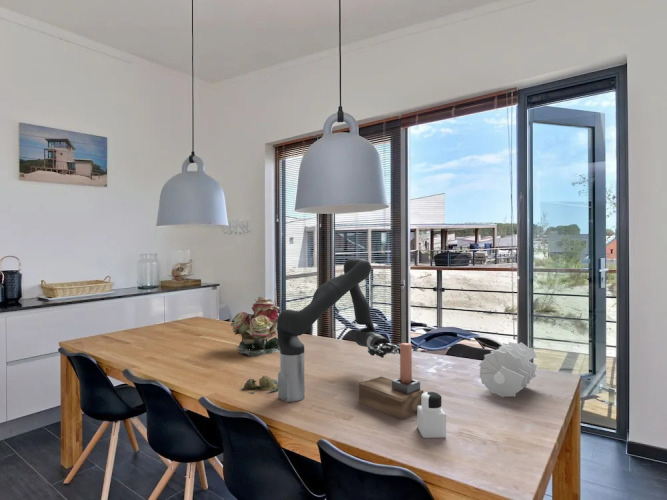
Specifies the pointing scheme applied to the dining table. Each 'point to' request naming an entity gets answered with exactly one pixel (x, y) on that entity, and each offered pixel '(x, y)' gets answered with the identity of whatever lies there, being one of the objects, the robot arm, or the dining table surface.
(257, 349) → the rose bouquet
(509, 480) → the dining table surface
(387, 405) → the brown wooden block
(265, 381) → the mossy rock cluster
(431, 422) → the medicine bottle
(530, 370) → the spiral staircase
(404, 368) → the key peg
